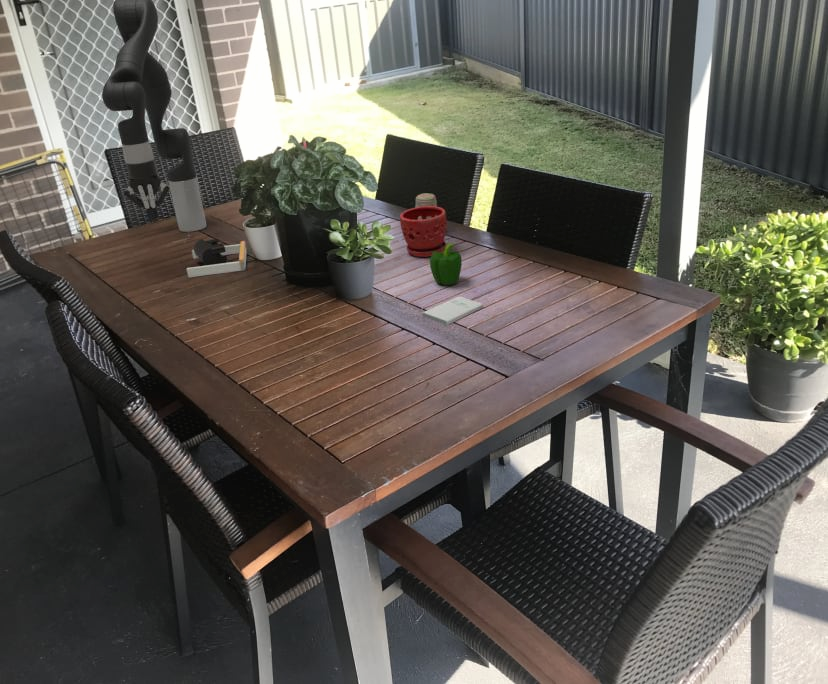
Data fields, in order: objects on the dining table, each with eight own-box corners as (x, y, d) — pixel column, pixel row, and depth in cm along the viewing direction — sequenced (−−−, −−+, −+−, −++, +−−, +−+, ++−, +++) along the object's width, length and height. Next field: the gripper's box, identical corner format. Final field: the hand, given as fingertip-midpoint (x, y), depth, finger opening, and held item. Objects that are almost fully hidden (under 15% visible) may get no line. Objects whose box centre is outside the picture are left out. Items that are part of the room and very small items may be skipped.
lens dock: (193, 257, 222) (191, 247, 220) (246, 251, 224) (244, 240, 222) (188, 277, 207) (186, 266, 205) (245, 270, 209) (243, 259, 207)
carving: (432, 237, 223) (429, 199, 218) (411, 234, 227) (408, 196, 221) (442, 231, 228) (440, 193, 222) (422, 228, 231) (420, 191, 226)
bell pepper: (440, 290, 185) (437, 253, 180) (426, 280, 192) (424, 244, 187) (469, 283, 188) (467, 247, 183) (454, 274, 194) (453, 238, 190)
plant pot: (420, 242, 220) (417, 203, 214) (456, 248, 213) (454, 208, 207) (393, 255, 211) (390, 215, 205) (431, 262, 203) (428, 221, 198)
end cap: (196, 262, 218) (191, 241, 215) (219, 257, 221) (215, 235, 218) (205, 271, 210) (200, 249, 207) (228, 266, 213) (224, 244, 210)
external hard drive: (422, 318, 172) (458, 301, 180) (447, 327, 167) (483, 309, 174) (422, 312, 172) (458, 295, 179) (446, 321, 166) (483, 303, 173)
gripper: (166, 153, 203) (179, 213, 211) (117, 158, 201) (132, 218, 209) (162, 159, 196) (176, 221, 204) (112, 165, 194) (128, 226, 203)
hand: (154, 219), depth 207 cm, fingers closed
